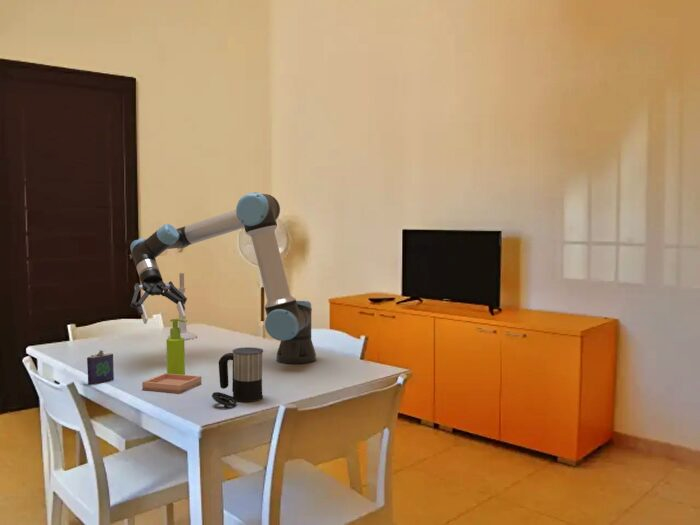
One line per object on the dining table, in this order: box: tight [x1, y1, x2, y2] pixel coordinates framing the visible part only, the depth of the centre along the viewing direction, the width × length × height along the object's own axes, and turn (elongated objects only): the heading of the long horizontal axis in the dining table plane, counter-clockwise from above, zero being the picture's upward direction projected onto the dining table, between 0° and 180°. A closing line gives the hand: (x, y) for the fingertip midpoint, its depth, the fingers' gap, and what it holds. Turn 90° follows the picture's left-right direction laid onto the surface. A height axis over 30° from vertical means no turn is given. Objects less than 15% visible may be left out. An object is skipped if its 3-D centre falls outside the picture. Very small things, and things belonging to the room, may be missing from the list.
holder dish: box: [142, 372, 202, 394], centre depth 208 cm, size 14×13×2 cm
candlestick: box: [167, 272, 198, 341], centre depth 294 cm, size 13×13×30 cm
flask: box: [86, 349, 115, 386], centre depth 214 cm, size 9×3×11 cm, turn 144°
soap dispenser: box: [166, 318, 188, 375], centre depth 221 cm, size 6×7×20 cm
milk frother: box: [211, 346, 264, 408], centre depth 192 cm, size 14×16×15 cm
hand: (165, 319), depth 229 cm, fingers open, 13 cm apart
